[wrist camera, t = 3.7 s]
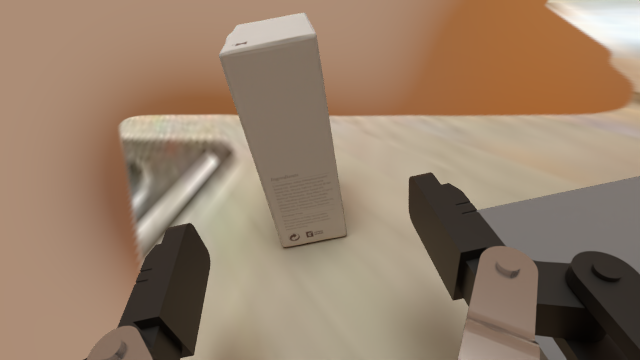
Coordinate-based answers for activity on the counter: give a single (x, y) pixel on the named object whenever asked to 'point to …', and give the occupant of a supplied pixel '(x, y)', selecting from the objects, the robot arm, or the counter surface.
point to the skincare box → (287, 124)
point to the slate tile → (572, 229)
